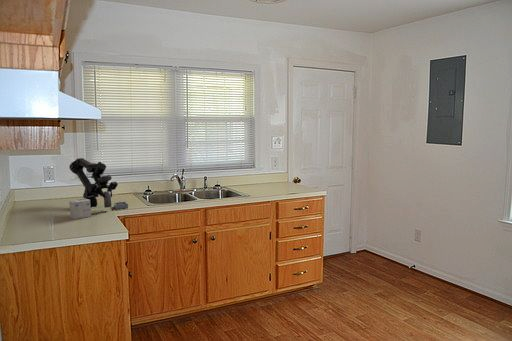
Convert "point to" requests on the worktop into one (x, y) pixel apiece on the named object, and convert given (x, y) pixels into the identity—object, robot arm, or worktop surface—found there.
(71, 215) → the light bulb box
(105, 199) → the charger
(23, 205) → the worktop surface
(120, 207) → the charging dock
